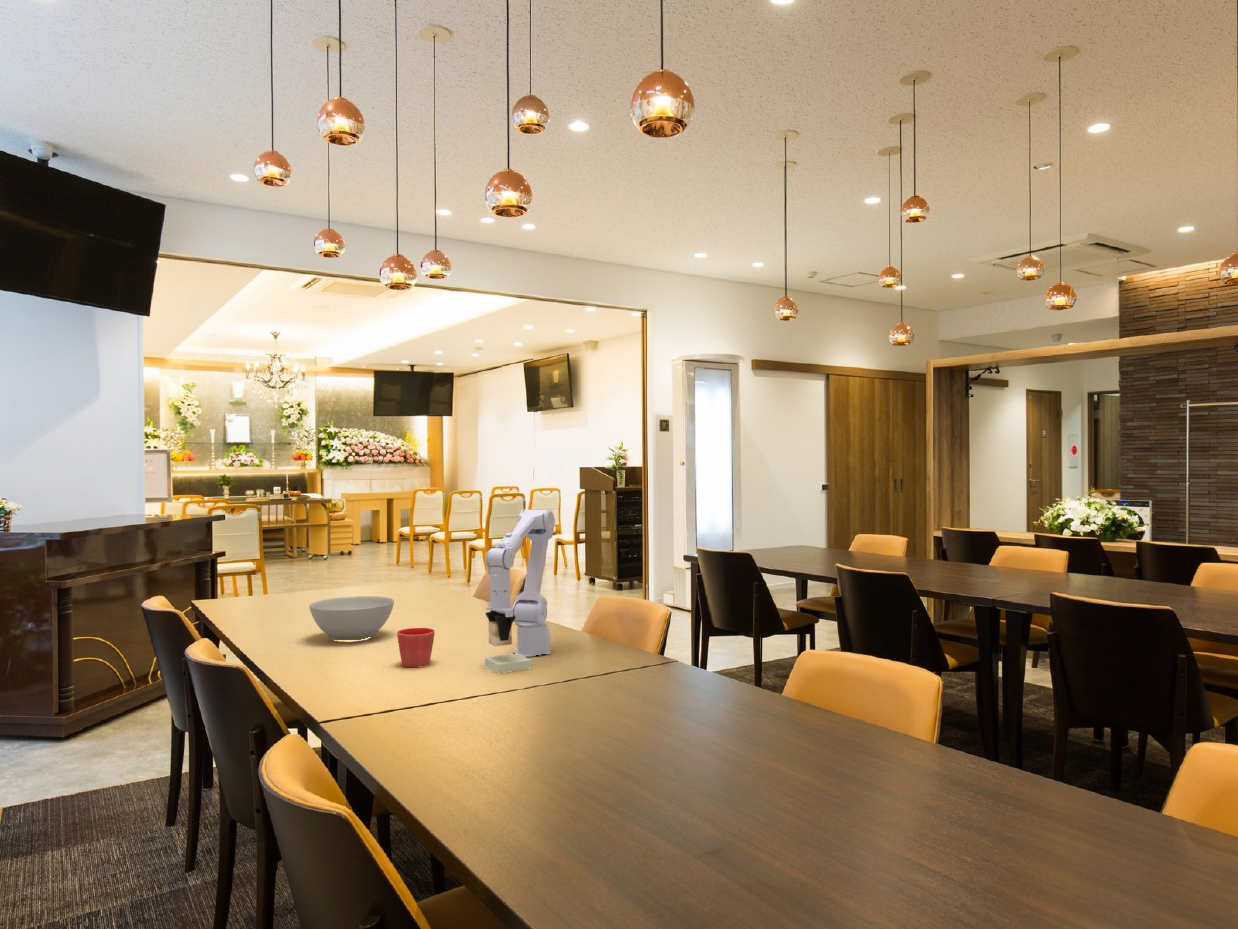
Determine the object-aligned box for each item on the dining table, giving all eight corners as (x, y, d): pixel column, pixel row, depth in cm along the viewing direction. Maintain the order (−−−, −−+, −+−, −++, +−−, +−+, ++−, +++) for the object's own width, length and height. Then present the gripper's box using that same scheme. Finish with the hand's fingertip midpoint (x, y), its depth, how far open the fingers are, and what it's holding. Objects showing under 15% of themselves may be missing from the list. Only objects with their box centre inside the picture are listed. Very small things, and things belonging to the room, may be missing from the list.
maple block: (505, 641, 234) (505, 620, 233) (511, 644, 229) (511, 623, 229) (488, 643, 231) (488, 622, 231) (495, 646, 227) (494, 625, 227)
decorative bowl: (306, 635, 278) (306, 599, 278) (387, 628, 289) (387, 593, 289) (313, 651, 253) (312, 612, 253) (400, 642, 265) (400, 605, 265)
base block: (517, 663, 237) (517, 653, 237) (531, 670, 229) (531, 660, 229) (484, 668, 232) (484, 657, 232) (498, 675, 224) (498, 664, 224)
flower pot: (440, 660, 240) (439, 627, 240) (427, 669, 229) (427, 635, 229) (405, 659, 241) (405, 627, 241) (391, 669, 230) (391, 634, 230)
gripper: (477, 588, 234) (478, 635, 234) (495, 595, 222) (496, 645, 222) (500, 586, 238) (501, 632, 238) (520, 593, 225) (520, 642, 225)
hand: (500, 638), depth 230 cm, fingers closed on maple block, 5 cm apart
